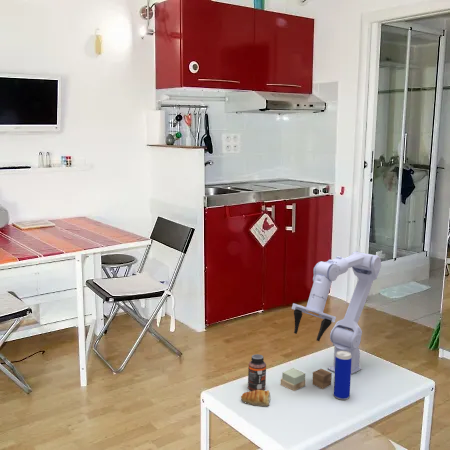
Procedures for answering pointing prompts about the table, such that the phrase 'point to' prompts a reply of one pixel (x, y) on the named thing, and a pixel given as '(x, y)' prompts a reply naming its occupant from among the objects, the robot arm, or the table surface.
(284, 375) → the tower top
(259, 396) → the pastry
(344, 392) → the beverage can
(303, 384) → the tower base
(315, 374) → the walnut cube
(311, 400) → the table surface
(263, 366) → the supplement bottle
